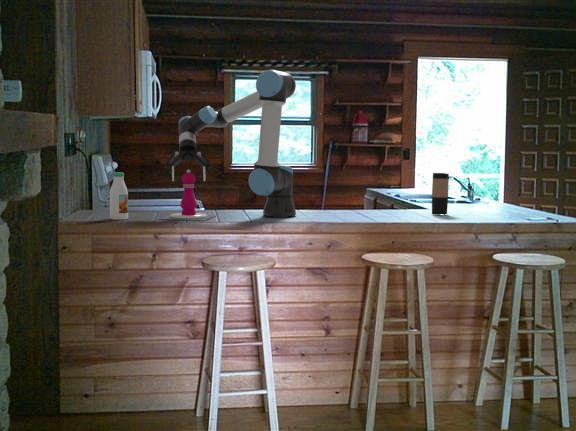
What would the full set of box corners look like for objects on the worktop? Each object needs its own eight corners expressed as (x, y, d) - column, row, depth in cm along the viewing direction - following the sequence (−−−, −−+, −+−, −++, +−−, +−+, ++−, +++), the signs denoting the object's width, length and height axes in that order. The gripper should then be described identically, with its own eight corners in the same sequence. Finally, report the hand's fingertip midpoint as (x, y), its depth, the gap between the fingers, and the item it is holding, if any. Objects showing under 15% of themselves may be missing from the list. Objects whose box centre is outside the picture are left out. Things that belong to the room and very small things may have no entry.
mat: (216, 216, 325) (216, 215, 325) (204, 221, 305) (204, 220, 305) (174, 215, 328) (174, 214, 328) (159, 219, 309) (159, 218, 309)
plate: (211, 215, 323) (211, 213, 323) (200, 219, 307) (200, 217, 307) (177, 214, 326) (177, 212, 326) (165, 218, 310) (165, 216, 310)
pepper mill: (193, 215, 312) (193, 169, 310) (178, 215, 314) (177, 169, 312) (199, 214, 319) (199, 169, 317) (183, 213, 321) (183, 168, 319)
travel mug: (429, 215, 345) (431, 173, 343) (432, 213, 352) (434, 172, 350) (445, 215, 342) (447, 173, 340) (448, 214, 349) (450, 173, 347)
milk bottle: (112, 220, 303) (111, 173, 301) (107, 218, 310) (107, 172, 308) (130, 219, 307) (129, 172, 305) (125, 217, 314) (125, 172, 312)
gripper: (214, 150, 331) (217, 185, 318) (159, 149, 327) (159, 184, 313) (215, 138, 325) (218, 173, 312) (159, 138, 321) (159, 173, 308)
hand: (188, 179), depth 313 cm, fingers open, 13 cm apart
